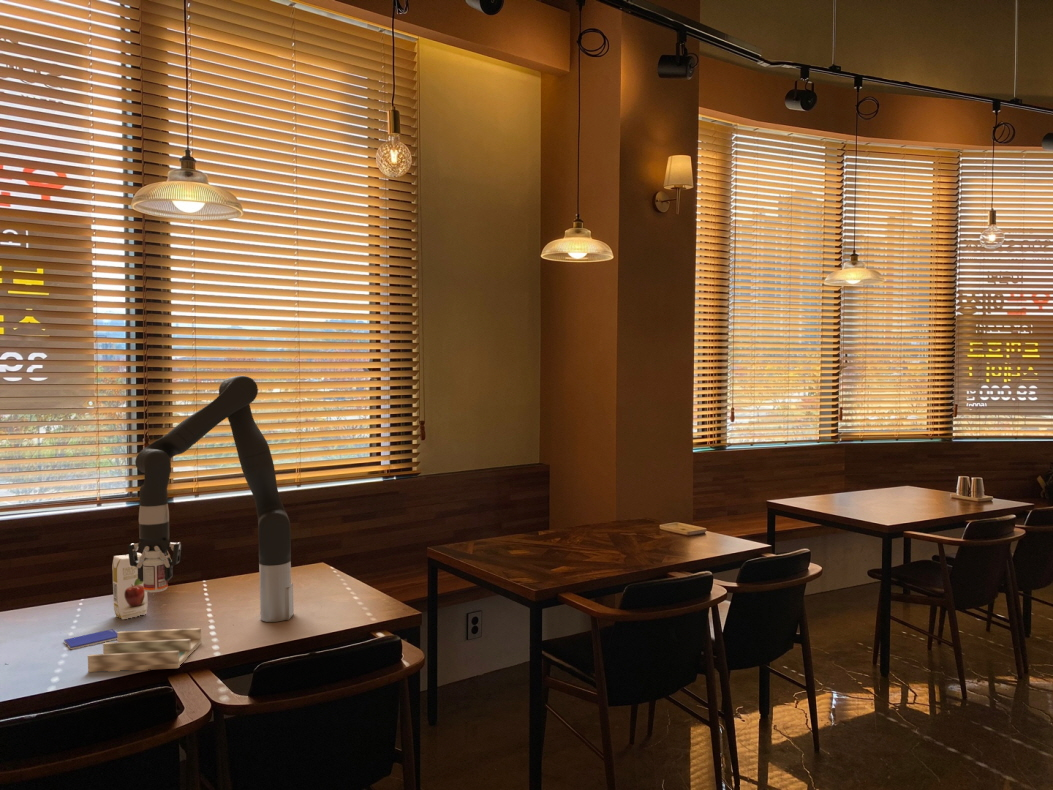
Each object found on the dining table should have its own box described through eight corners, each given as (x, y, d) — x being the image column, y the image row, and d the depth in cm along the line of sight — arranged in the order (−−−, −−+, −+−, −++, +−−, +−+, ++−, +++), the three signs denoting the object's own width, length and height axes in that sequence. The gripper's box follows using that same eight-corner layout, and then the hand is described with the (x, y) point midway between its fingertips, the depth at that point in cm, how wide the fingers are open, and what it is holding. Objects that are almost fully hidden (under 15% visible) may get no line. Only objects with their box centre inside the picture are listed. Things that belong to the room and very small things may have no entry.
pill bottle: (167, 585, 219) (167, 546, 219) (167, 591, 214) (166, 550, 213) (143, 588, 217) (142, 548, 216) (142, 594, 211) (142, 553, 211)
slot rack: (201, 643, 216) (201, 628, 216) (178, 668, 198) (177, 652, 197) (119, 646, 214) (118, 631, 213) (88, 672, 196) (87, 656, 195)
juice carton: (111, 616, 240) (109, 556, 239) (140, 609, 246) (138, 550, 246) (121, 621, 235) (119, 559, 234) (150, 614, 241) (148, 554, 241)
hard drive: (112, 628, 226) (63, 639, 218) (119, 635, 220) (70, 646, 212) (112, 633, 226) (64, 644, 218) (120, 640, 220) (70, 652, 212)
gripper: (185, 517, 219) (186, 576, 219) (133, 518, 218) (134, 577, 218) (175, 522, 211) (176, 583, 212) (121, 523, 210) (122, 584, 211)
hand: (155, 580), depth 215 cm, fingers closed on pill bottle, 6 cm apart
